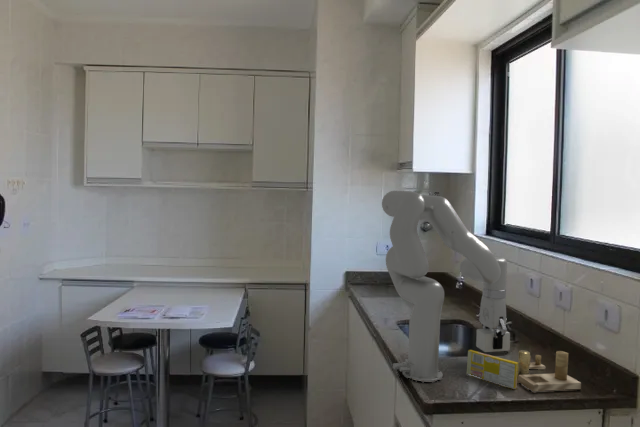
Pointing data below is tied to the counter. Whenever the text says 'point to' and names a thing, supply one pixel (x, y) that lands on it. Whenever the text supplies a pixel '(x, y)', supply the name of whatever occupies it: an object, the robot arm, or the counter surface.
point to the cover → (491, 340)
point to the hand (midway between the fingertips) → (492, 345)
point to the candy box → (492, 368)
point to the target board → (552, 377)
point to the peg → (523, 362)
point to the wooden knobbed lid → (536, 363)
